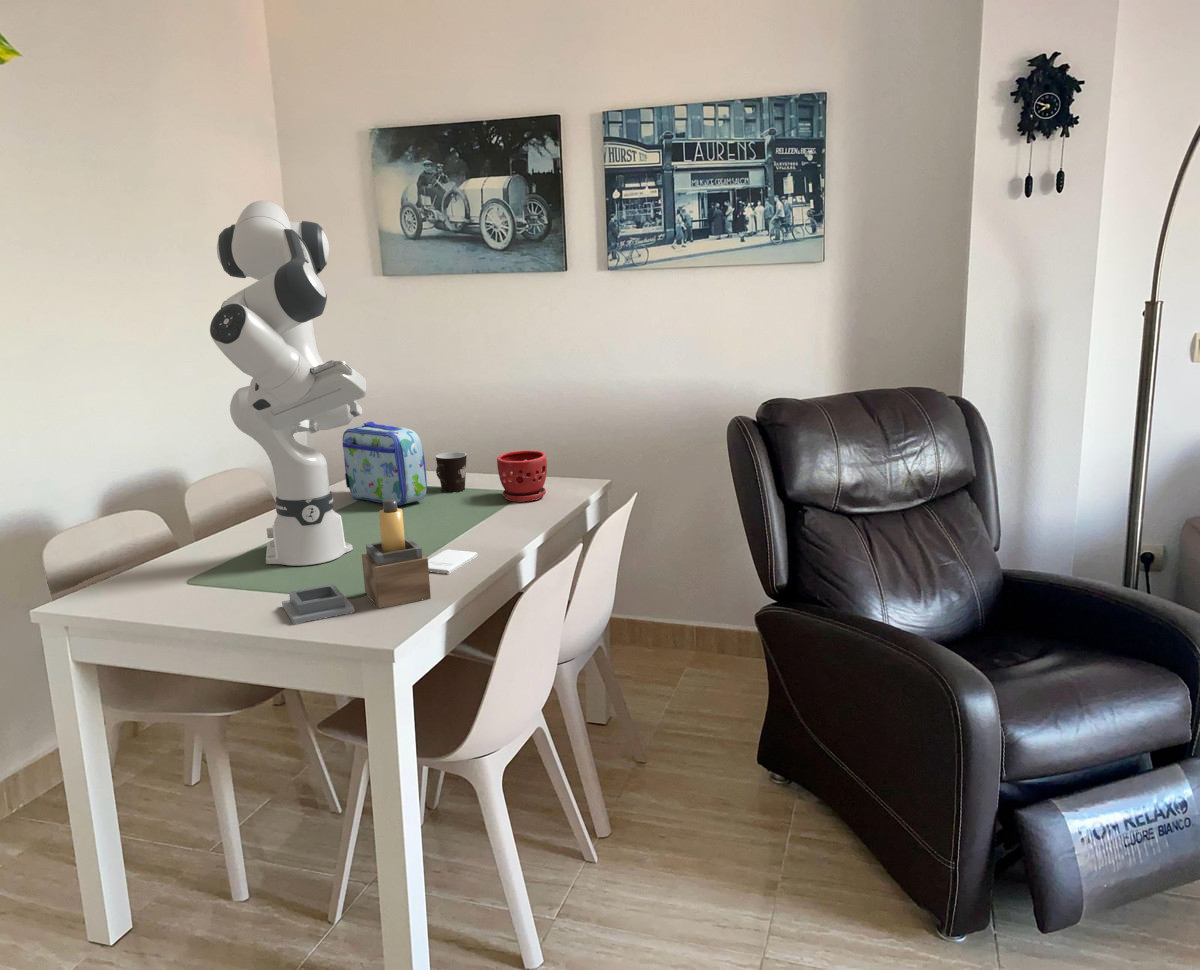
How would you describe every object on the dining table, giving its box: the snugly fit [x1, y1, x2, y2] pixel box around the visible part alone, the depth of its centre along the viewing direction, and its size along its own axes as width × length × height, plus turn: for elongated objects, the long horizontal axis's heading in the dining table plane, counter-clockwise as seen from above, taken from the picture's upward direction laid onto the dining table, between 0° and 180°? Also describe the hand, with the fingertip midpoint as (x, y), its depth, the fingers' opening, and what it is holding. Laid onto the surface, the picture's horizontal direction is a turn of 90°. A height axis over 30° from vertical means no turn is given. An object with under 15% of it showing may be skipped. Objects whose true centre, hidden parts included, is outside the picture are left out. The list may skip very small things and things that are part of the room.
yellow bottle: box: [378, 499, 406, 553], centre depth 184 cm, size 4×4×11 cm
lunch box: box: [342, 421, 428, 507], centre depth 260 cm, size 26×11×21 cm, turn 48°
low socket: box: [281, 583, 356, 625], centre depth 181 cm, size 11×11×3 cm
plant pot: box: [496, 449, 548, 503], centre depth 259 cm, size 13×13×12 cm
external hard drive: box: [428, 549, 479, 574], centre depth 206 cm, size 2×8×12 cm
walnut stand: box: [361, 537, 432, 609], centre depth 186 cm, size 10×10×10 cm
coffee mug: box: [435, 451, 468, 494], centre depth 270 cm, size 12×9×10 cm
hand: (337, 421), depth 178 cm, fingers open, 8 cm apart
